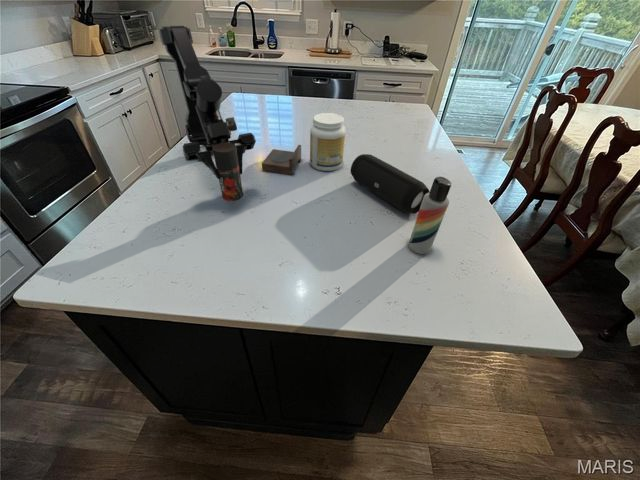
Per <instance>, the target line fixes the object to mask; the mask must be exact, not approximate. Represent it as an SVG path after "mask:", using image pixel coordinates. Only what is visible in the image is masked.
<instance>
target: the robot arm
mask: <svg viewBox="0 0 640 480" xmlns="http://www.w3.org/2000/svg"><path fill="white" fill-rule="evenodd" d="M158 35H159V38H160V43H161V44H162V46H164V48H165V51H166V53H167V54H168V55H169V57H170V58H171V59H172V60H173V61H174V65H175V68H176V72H177V76H178V79H179V83H180V86H181V87H180V88H181V91H182V94H183V98H184V102H185V105H186V109H187V112H186V116H185V123H186V124H185V125H184V127H185V134H186V137H187V140H188V141H189V142H187V143H186V142H184V144H183V145H182V152H183V156H184V158H185V161H186V162H191V161H196V160H197V162H198V163H203V164H204V165H205V166H206V167H207V168H208V169H209V170H210V172H211V173H212V174H213V175H214V176H215V177H216V178H217V180H218V181H219V179H220V177H219V173H218V171H217V168H216V163H215V161H214V160H213V159H212V156H214V154H213V149H212V147H213V146H214V145H215V144H217V143H221V142H230V143H233V144H235V145H236V149H237V156H238V163H239V170H240V176H241V175H243V155H244V154H245V153H246V151H249V150H252V149H254V146H255V144H256V141H257V140H256V137H255V135H254V134H253V133H252V132H246V133H239V134H238V137H237V139H232V140H230V139H231V138H232V136H231V135H232V132H236V131H237V130H238V127H237V123H236V120H235V117H227V118H225V121H224V120H223V117H222V115H221V112H220V109H221V104H222V97H223V96H222V95H223V90H222V87H221V86H220V85H219V83H217V82H216V81H215V80H214V79H213V78H212V77H211V75H210V73H209V71H208V69H206V68H204V67H203V66H201V64H200V61H199V59H198V56H197V54H196V51H195V49H194V45H193V44H194V40H193V36H192V31H191V29H190V28H188V27H187V26H185V25H163V26H161V28H160V29H159V30H158Z"/></svg>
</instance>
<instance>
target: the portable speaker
mask: <svg viewBox="0 0 640 480" xmlns="http://www.w3.org/2000/svg"><path fill="white" fill-rule="evenodd" d="M350 174H351V176H352V178H353V179H354V181H355V182H356V183H357V184H359V185H361V186H362V187H364V188H366V189H367V190H369V191H370V192H372V193H373V194H375V195H376V196H378V197H379V198H381V199H383V200H384V201H386V202H387V203H389V204H391V205H392V206H394V207H395V208H397V209H398V210H400V211H401V212H403V213H406V214H412V215H414V214H418V213H419V210H420V207H421V204H422V201H423V198H424V195H425V194H427V193H430V189H429V188H428V186H427V185H426V184H425V183H424V182H422V181H421V180H419V179H417V178H416V177H414V176H412V175H410V174H408V173H406V172H404V171H402V170H400V169H399V168H397V167H395V166H393V165H391V164H390V163H388V162H386V161H384V160H382V159H380V158H379V157H377V156H375V155H372V154H367V153H366V154H365V153H362V154H359V155H358V156H357V157H355V158H354V160H353V161H352V163H351V166H350Z"/></svg>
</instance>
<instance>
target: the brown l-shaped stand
mask: <svg viewBox="0 0 640 480" xmlns="http://www.w3.org/2000/svg"><path fill="white" fill-rule="evenodd" d="M301 161H302V144H298V145H297V146H296V148H295V149H294V151H291V150H284V149H283V150H282V149H276V148H273V149H271V151H270V153H268V155H267V156H266V157H265V158H264V160H263V161H262V162H261V170H262V172H267V173H271V174H272V173H273V174H280V175H285V176H293V175H294V173H295V171H294V170H295V167H296V165H297V164H298V163H301Z"/></svg>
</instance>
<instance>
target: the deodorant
mask: <svg viewBox="0 0 640 480" xmlns="http://www.w3.org/2000/svg"><path fill="white" fill-rule="evenodd" d="M212 149H213V158H214V164H215V167H216V169H217V171H218V173H219V177H220V179H219V180H218V182H219V187H220V192H221V197H222V200H224V201H226V202H231V203H232V202H238V201H240V200H242V199H243V197H244V191H243V184H242V177H241V174H240V170H239V163H238V156H237V149H236V145H235V144H233V143H230V142H221V143H217V144H215V145H214V146H213V147H212Z"/></svg>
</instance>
